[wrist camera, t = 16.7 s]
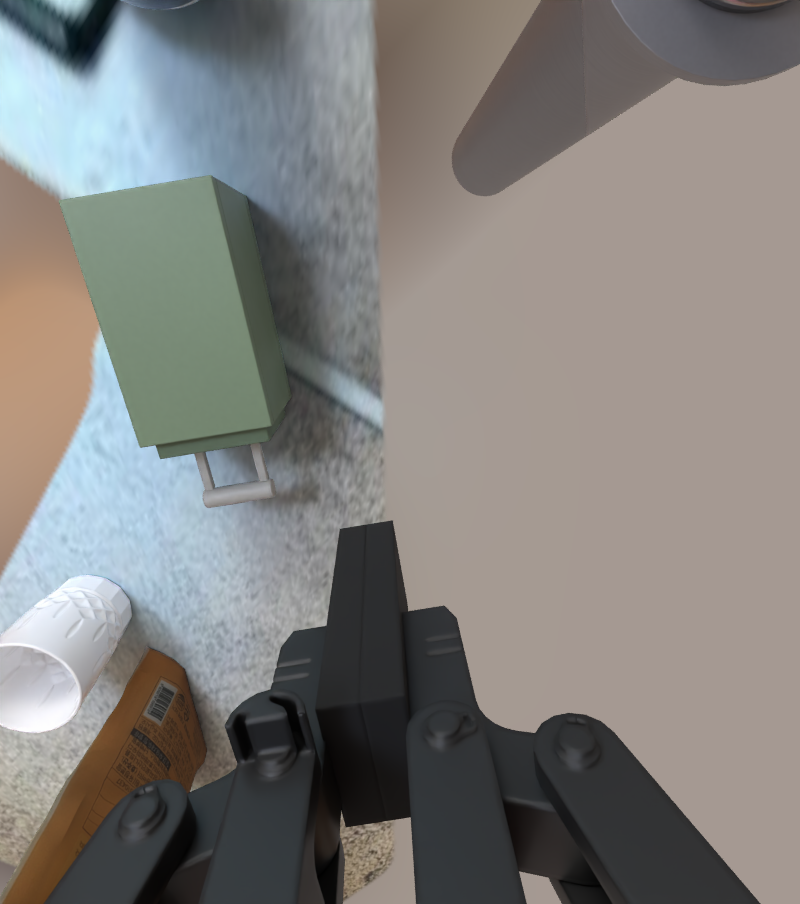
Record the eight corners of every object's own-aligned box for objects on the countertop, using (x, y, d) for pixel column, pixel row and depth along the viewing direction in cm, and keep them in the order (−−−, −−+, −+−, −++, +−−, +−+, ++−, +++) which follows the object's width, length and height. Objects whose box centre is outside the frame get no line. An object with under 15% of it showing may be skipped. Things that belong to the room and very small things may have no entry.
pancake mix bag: (192, 627, 49) (-25, 1051, 22) (235, 783, 55) (103, 1264, 28) (118, 635, 49) (-189, 1072, 22) (168, 791, 55) (-25, 1280, 28)
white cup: (121, 560, 46) (56, 634, 37) (151, 635, 49) (97, 723, 39) (32, 577, 46) (-56, 655, 37) (67, 651, 49) (-7, 742, 39)
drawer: (299, 473, 43) (286, 508, 37) (209, 487, 44) (180, 525, 37) (243, 231, 38) (216, 222, 31) (139, 248, 38) (90, 243, 31)
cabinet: (292, 396, 42) (272, 426, 34) (184, 414, 42) (139, 448, 34) (246, 195, 38) (211, 174, 30) (126, 216, 38) (57, 200, 30)
